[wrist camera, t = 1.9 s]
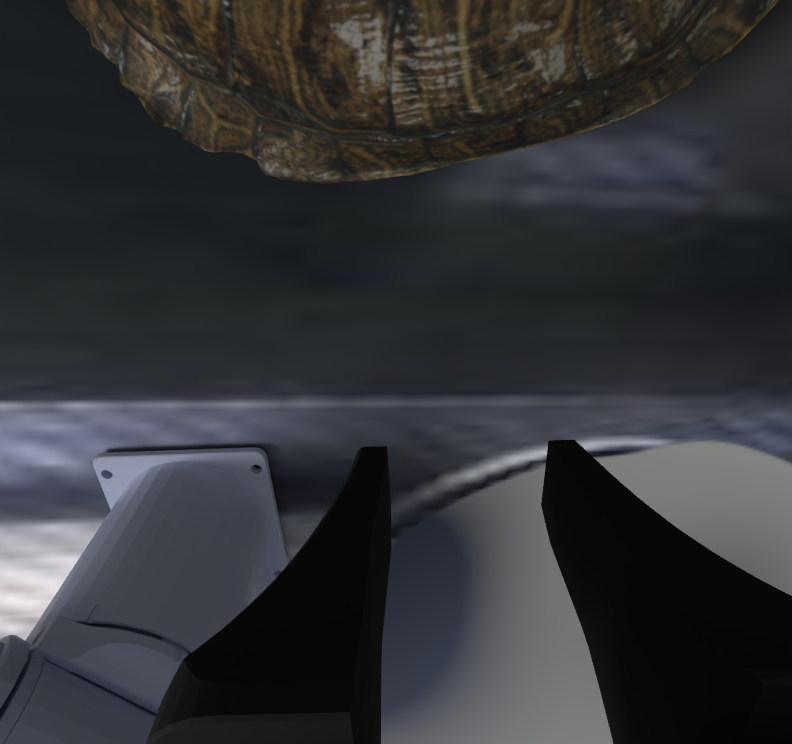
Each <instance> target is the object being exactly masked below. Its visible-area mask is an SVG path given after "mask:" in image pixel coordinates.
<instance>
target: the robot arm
mask: <svg viewBox="0 0 792 744" xmlns="http://www.w3.org/2000/svg"><path fill="white" fill-rule="evenodd" d="M253 465H259V466H260V467H261V468H256V467H254V466H253ZM93 466H94V469H95V471H96V474H97V476H98V479H99V481H100V484H101V486H102V489H103V491H104V494H105V496H106V499H107V501H108V504H109V506H110V509H111V511H110V512H109V514H108V515H107V517H106V518H105V520H104V521H103V523H102V525H101V526H100V528H99V529H98V531H97V532H96V534H95V535H94V537H93V538H92V540H91V541H90V543H89V544H88V546H87V547H86V549H85V551H84V552H83V554H82V555H81V557H80V558H79V560H78V561H77V563H76V564H75V566H74V567H73V569H72V570H71V572H70V573H69V575H68V576H67V578H66V580H65V581H64V583H63V584H62V586H61V587H60V589H59V590H58V592H57V593H56V595H55V596H54V598H53V599H52V601H51V602H50V604H49V605H48V607H47V609H46V610H45V612H44V613H43V615H42V616H41V618H40V619H39V621H38V622H37V624H36V625H35V627H34V628H33V630H32V631H31V633H30V635H29V636H28V638H27V639H26V641H24V640H23V639H21V638H20V637H18V636H16V635H9V636H6V637H4V638H2V639H0V744H381V656H382V637H383V625H384V615H385V605H386V595H387V586H388V576H389V566H390V556H391V501H390V486H389V470H388V454H387V446H382V447H362V448H361V449H360V450H359V451H358V452H357V455H356V458H355V460H354V463H353V465H352V467H351V470H350V472H349V474H348V476H347V478H346V480H345V482H344V484H343V485H342V487H341V489H340V491H339V492H338V494H337V496H336V498H335V499H334V501H333V503H332V505H331V506H330V508H329V510H328V511H327V513H326V514H325V516H324V517H323V519H322V520H321V522H320V523H319V525H318V526H317V528H316V529H315V531H314V532H313V533H312V535H311V536H310V537H309V539H308V540H307V542H306V543H305V544H304V545H303V547H302V548H301V549H300V550H299V552H298V553H297V554H296V555H295V557H294V558H293V559H292V560H291V562H290V563H289V564H288V559H287V554H286V549H285V544H284V539H283V534H282V529H281V524H280V519H279V514H278V509H277V504H276V499H275V494H274V489H273V484H272V479H271V474H270V469H269V464H268V459H267V455H266V453H265V452H264V451H263V450H262V449H260V448H255V447H251V448H223V449H195V450H166V451H138V452H110V453H100V454H99V455H97V456H96V458H95V459H94V461H93ZM106 470H108V471H110V472H111V473H109V472H107V471H106ZM541 506H542V510H543V515H544V519H545V523H546V527H547V531H548V536H549V539H550V543H551V546H552V549H553V551H554V554H555V557H556V560H557V562H558V565H559V568H560V570H561V573H562V576H563V578H564V581H565V584H566V586H567V589H568V592H569V594H570V597H571V599H572V602H573V605H574V607H575V610H576V612H577V615H578V618H579V621H580V623H581V626H582V629H583V632H584V635H585V638H586V641H587V644H588V646H589V650H590V654H591V658H592V662H593V665H594V669H595V673H596V676H597V680H598V684H599V687H600V691H601V695H602V699H603V703H604V707H605V711H606V715H607V719H608V723H609V727H610V731H611V735H612V739H613V744H792V596H790V595H789V594H786V593H785V592H783V591H781V590H779V589H777V588H775V587H773V586H771V585H769V584H767V583H765V582H763V581H762V580H760V579H758V578H756V577H754V576H753V575H751V574H749V573H747V572H746V571H744V570H742V569H740V568H739V567H737V566H735V565H734V564H732V563H730V562H728V561H727V560H725V559H723V558H722V557H720V556H718V555H717V554H715V553H714V552H712V551H710V550H709V549H707V548H706V547H704V546H703V545H701V544H700V543H698V542H697V541H695V540H694V539H692V538H691V537H689V536H688V535H686V534H685V533H683V532H682V531H681V530H679V529H678V528H676V527H675V526H674V525H672V524H671V523H670V522H668V521H667V520H666V519H664V518H663V517H662V516H661V515H659V514H658V513H657V512H655V511H654V510H653V509H651V508H650V507H649V506H648V505H646V504H645V503H644V502H643V501H642V500H640V499H639V498H638V497H637V496H636V495H634V494H633V493H632V492H631V491H630V490H629V489H627V488H626V487H625V486H624V485H623V484H622V483H620V482H619V481H618V480H617V479H616V478H615V477H614V476H612V474H610V473H609V472H608V471H607V470H606V469H605V468H604V467H603V466H601V464H600V463H599V462H597V461H596V460H595V459H594V458H593V457H592V456H591V455H590V454H589V453H588V452H587V451H586V450H585V449H584V448H583V447H582V446H580V445H579V444H578V443H577V442H576V441H575V440H553V441H549V443H548V451H547V460H546V468H545V477H544V486H543V494H542V503H541ZM280 571H281V572H280Z"/></svg>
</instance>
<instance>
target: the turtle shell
mask: <svg viewBox="0 0 792 744" xmlns="http://www.w3.org/2000/svg"><path fill="white" fill-rule="evenodd" d="M778 1H779V0H66V2H67V5H68V8H69V12H70V13H71V14H72V15H73V16H74V17H75V18H76V19H77V20H78V21H79V22H80V23H81V24H82V25H83V26H84V27H85V28H86V29H87V30H88V31H89V33H90V38H91V44H92V46H93V47H94V48H96V49H98V50H99V51H100V52H101V53H102V54H103V55H104V56H105V58H106V59H107V60H109V61H111V62H113V63H115V64H116V67H117V70H118V74H119V79H120V83H121V84H122V85H123V86H125V87H126V88H128V89H129V90H130V91H132V92H133V93H134V94H135V95H136V96H137V97H138V99H139V100H140V101H141V102H142V104H143V106H144V108H145V110H146V112H147V114H148V116H149V117H150V118H151V119H152V120H154V121H155V122H156V123H157V124H158V125H162V126H167V127H170V128H173V129H176V132H177V136H178V138H181V139H185V140H188V141H190V142H192V143H194V144H196V145H198V146H199V147H200V148H202V149H203V150H204V151H209V152H235V153H243V154H245V155H247V156H249V157H251V158H253V159H255V160H257V161H258V163H259V165H260V167H261V169H262V171H263V173H264V175H267V176H270V177H273V178H276V179H281V180H293V181H304V182H311V183H335V182H349V181H367V180H374V179H380V178H387V177H396V176H405V175H412V174H416V173H420V172H424V171H428V170H432V169H437V168H441V167H444V166H448V165H451V164H455V163H459V162H464V161H469V160H475V159H480V158H485V157H489V156H493V155H497V154H501V153H505V152H509V151H513V150H517V149H521V148H526V147H530V146H534V145H538V144H542V143H546V142H550V141H554V140H558V139H562V138H566V137H569V136H573V135H576V134H579V133H582V132H585V131H589V130H592V129H595V128H598V127H601V126H604V125H607V124H610V123H612V122H615V121H618V120H621V119H623V118H626V117H628V116H630V115H632V114H634V113H637V112H639V111H641V110H643V109H645V108H648V107H650V106H652V105H653V104H655V103H657V102H659V101H661V100H662V99H664V98H666V97H668V96H669V95H671V94H673V93H674V92H676V91H678V90H680V89H681V88H683V87H685V86H686V85H688V84H689V83H690V82H691V81H692V80H693V79H694V78H695V76H696V75H697V74H698V73H699V72H700V71H701V70H702V68H704V67H705V66H707V65H709V64H710V63H712V62H714V61H715V60H717V59H718V58H720V57H722V56H723V55H725V54H727V53H728V52H730V51H731V50H732V49H733V48H734V47H735V46H736V45H737V44H738V43H739V42H740V41H741V40H742V39H743V38H744V37H745V36H746V35H747V34H748V33H749V32H750V31H751V30H752V28H753V27H754V26H755V25H756V24H757V23H758V22H759V21H760V20H761V19H762V18H763V17H764V16H765V15H766V14H767V13H768V12H769V11H770V10H771V9H772V8H773V7H774V6H775V5H776V4H777V2H778Z"/></svg>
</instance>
